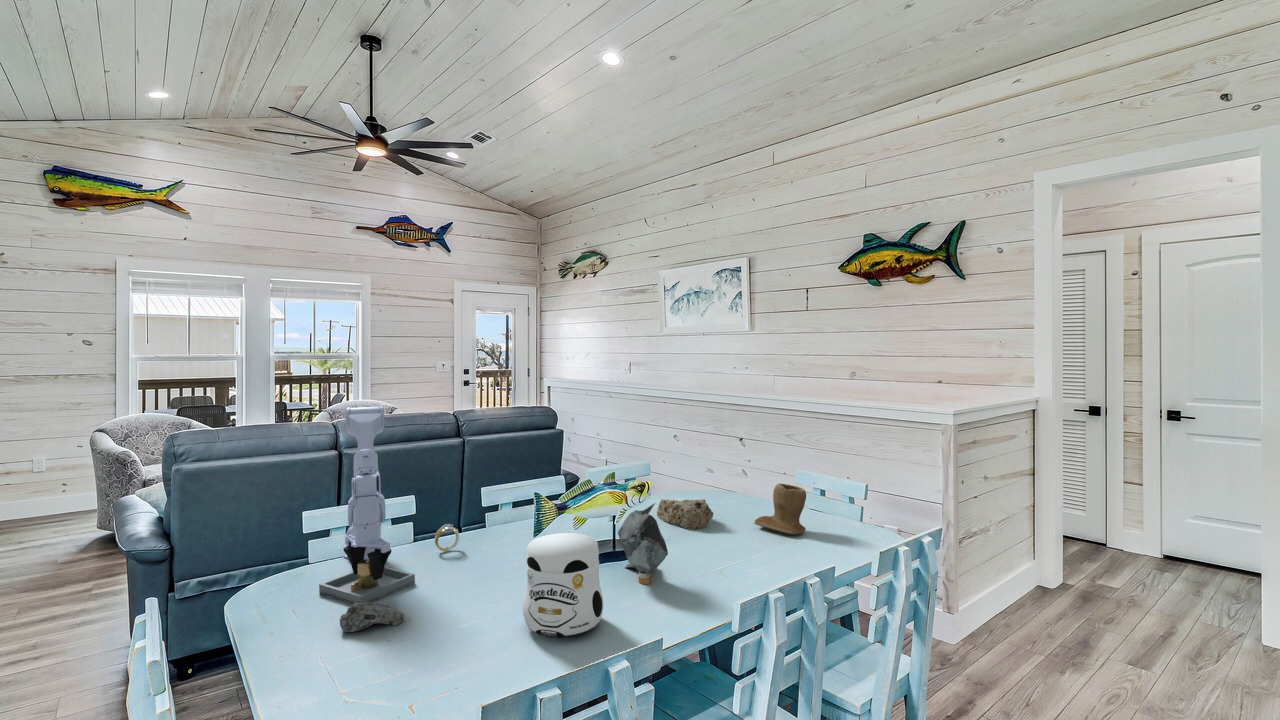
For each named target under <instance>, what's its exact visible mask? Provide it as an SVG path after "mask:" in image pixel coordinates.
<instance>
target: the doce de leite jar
mask: <svg viewBox="0 0 1280 720" xmlns="http://www.w3.org/2000/svg"><path fill="white" fill-rule="evenodd" d="M598 543H599V542H598V541H597V540H596V539H595V538H594V537H592V536H590V535H588V534H583V533H578V532H577V533H575V532H574V533H573V532H560V533H552V534H551V533H550V534H547V535H546V534H545V535H543V536H539V537H536V538H534V539H533V540H531V541H530V542H529V543H528V545H527V548H526V556H525V557H526V558H525V559H526V560H525V561H526V588H525V593H524V597H523V600H522V612H523V613H522V614H523V619H524V623H525V625H526V627H527V628H528V629H529V630H530V631H532V632H533V633H535V634H536V635H539V636H542V637H544V638H545V637H546V638H549V639H550V638H553V639H563V638H566V639H567V638H574V637H577V636H581V635H584V634H586V633H588V632H590V631H592V630H593V629H594V628H596V626H597V625H598V624H599V623H600V621H601V619H602V617H603V611H604V596H603V592H602V589H601V585H600V560H599V558H600V557H599V555H600V553H599V552H600V551H599V544H598Z"/></svg>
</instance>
